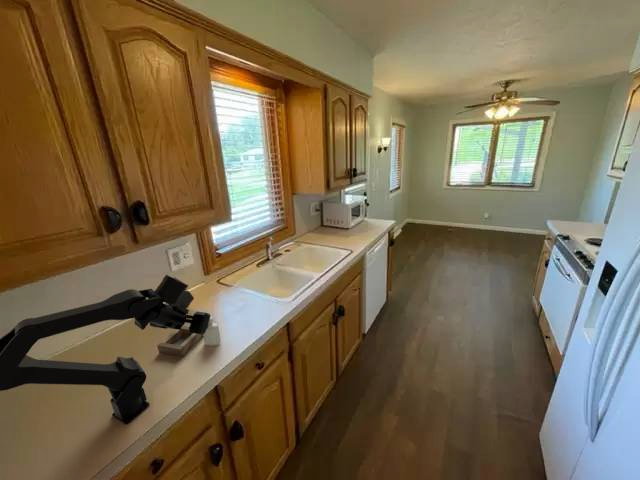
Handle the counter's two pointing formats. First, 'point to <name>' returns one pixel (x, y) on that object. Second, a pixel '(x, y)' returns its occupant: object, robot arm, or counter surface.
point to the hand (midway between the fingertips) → (195, 324)
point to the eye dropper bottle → (212, 334)
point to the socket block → (179, 342)
